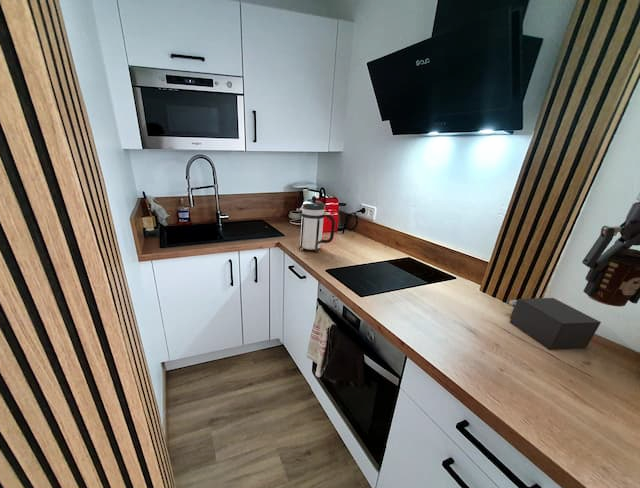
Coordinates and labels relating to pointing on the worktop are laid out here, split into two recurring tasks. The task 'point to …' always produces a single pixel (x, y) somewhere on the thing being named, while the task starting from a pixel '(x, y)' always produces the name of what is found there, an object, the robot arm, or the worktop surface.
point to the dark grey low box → (554, 323)
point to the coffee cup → (619, 279)
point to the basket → (514, 302)
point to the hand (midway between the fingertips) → (608, 297)
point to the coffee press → (314, 225)
